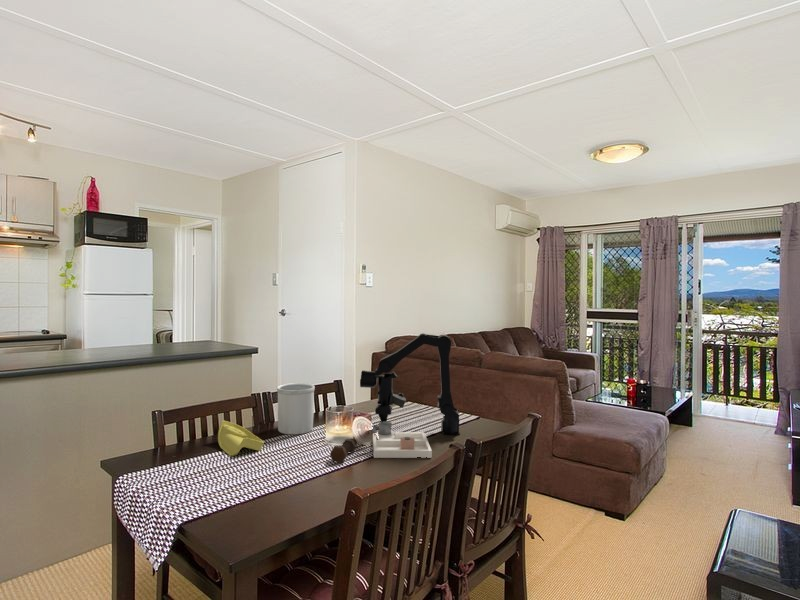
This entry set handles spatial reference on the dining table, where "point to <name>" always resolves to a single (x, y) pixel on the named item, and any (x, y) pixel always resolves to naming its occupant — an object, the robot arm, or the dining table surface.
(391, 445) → the white flat rectangular tray
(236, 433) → the plastic component
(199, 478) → the dining table surface
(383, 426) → the grey cylinder
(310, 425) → the utensil holder
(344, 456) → the dark brown dumbbell
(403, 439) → the pink cube
